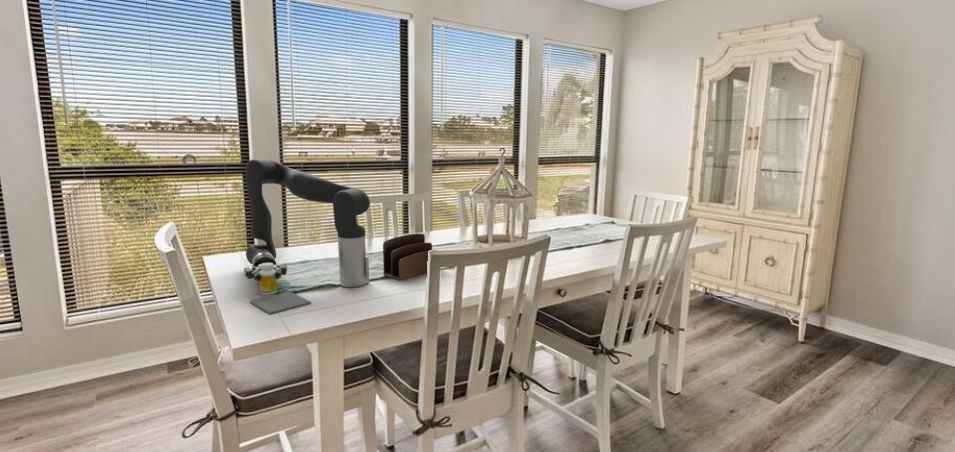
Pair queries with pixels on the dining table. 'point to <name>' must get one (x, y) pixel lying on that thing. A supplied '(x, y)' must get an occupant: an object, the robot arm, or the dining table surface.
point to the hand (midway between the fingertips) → (268, 276)
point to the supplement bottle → (267, 279)
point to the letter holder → (405, 256)
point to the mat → (280, 302)
